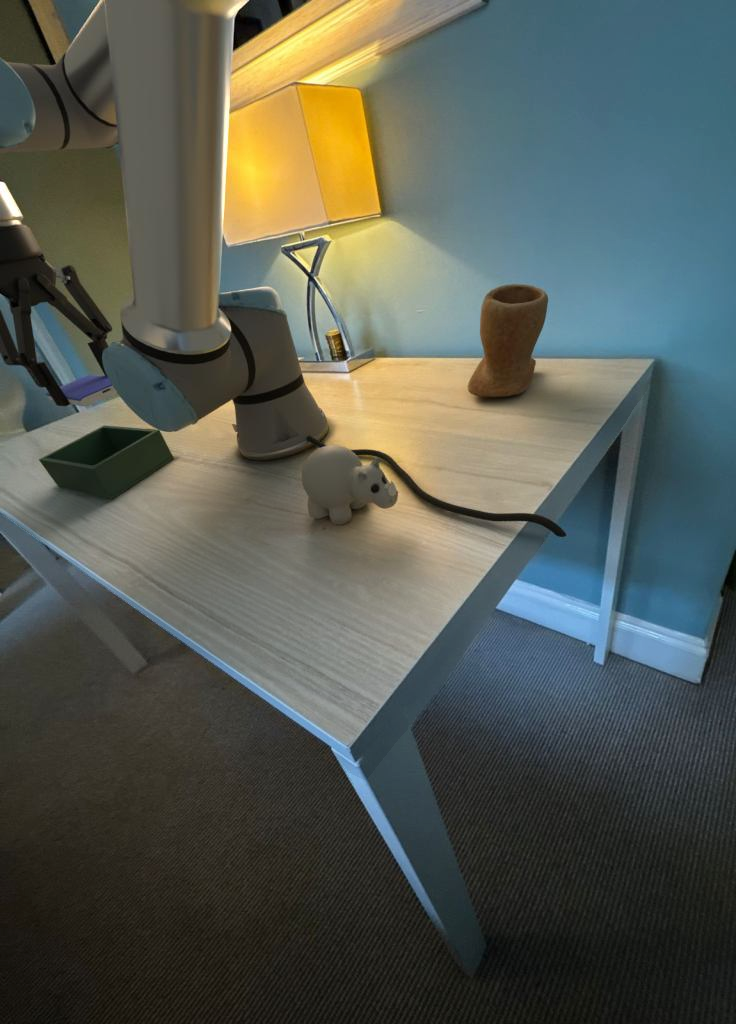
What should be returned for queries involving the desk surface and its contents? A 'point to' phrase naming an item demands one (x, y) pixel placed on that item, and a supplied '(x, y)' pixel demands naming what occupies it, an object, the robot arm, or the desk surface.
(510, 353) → the brown clay boot vase
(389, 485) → the chubby cartoon animal
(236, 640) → the desk surface
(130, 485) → the tub
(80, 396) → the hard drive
